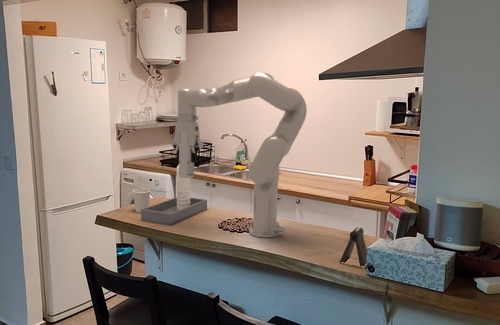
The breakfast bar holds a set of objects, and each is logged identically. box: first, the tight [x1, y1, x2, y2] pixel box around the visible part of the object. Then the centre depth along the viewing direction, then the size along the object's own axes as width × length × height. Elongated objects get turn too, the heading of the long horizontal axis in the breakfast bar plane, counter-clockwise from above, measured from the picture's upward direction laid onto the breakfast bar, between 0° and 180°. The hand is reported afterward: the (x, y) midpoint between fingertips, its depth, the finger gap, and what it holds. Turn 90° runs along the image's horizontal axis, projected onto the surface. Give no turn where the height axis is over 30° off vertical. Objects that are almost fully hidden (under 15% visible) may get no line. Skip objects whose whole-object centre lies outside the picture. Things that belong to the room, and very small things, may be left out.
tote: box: [140, 196, 208, 226], centre depth 203 cm, size 16×30×5 cm, turn 155°
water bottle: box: [176, 164, 191, 211], centre depth 208 cm, size 9×6×25 cm
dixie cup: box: [131, 188, 151, 213], centre depth 209 cm, size 8×8×10 cm
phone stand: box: [339, 226, 368, 266], centre depth 149 cm, size 9×6×12 cm, turn 59°
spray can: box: [178, 130, 195, 179], centre depth 184 cm, size 6×6×20 cm
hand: (186, 160), depth 185 cm, fingers closed on spray can, 6 cm apart
